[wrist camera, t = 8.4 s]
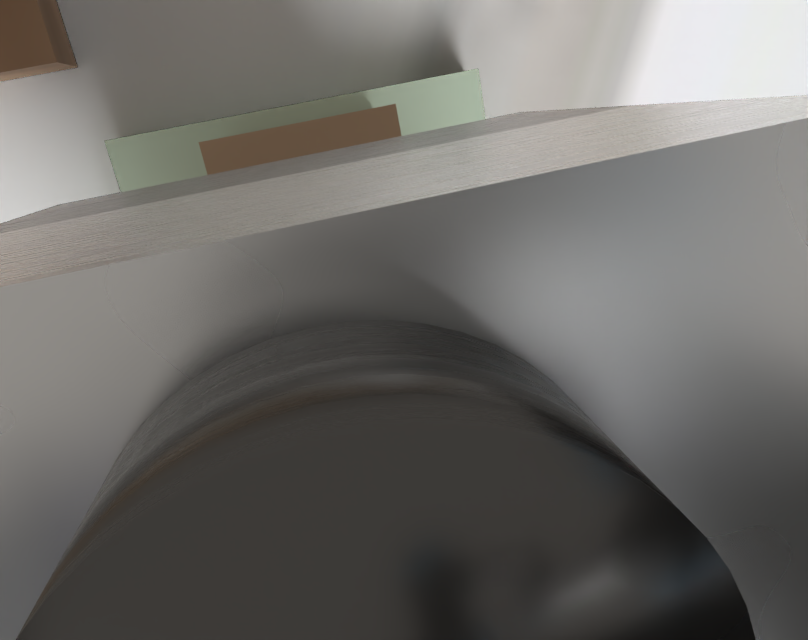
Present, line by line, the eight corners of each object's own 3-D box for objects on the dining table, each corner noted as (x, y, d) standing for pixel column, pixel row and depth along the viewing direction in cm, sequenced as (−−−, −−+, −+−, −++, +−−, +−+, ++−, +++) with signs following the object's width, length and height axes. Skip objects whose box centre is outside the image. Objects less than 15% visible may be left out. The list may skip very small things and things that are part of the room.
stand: (465, 72, 19) (534, 50, 13) (521, 457, 23) (592, 568, 17) (120, 139, 18) (34, 146, 12) (242, 526, 22) (219, 666, 16)
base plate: (587, 659, 13) (681, 835, 10) (253, 753, 13) (235, 974, 9) (519, 112, 10) (629, 106, 7) (57, 204, 9) (-77, 249, 6)
